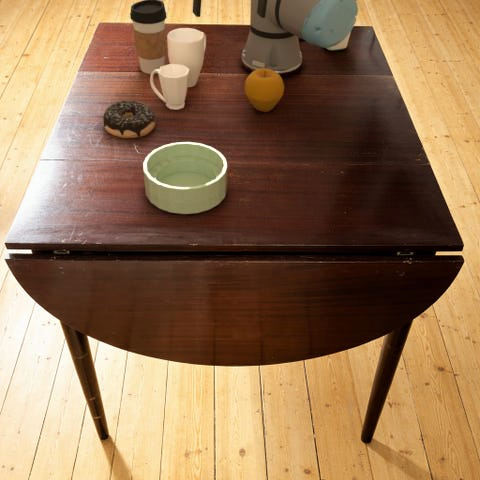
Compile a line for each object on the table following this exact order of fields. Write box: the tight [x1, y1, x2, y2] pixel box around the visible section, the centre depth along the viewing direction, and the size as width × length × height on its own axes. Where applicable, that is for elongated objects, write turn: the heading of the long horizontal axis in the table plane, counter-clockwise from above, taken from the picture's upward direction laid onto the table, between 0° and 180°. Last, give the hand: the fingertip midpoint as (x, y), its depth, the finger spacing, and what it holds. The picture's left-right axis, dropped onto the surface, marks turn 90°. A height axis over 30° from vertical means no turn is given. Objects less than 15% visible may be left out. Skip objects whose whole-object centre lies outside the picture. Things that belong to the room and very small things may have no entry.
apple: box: [244, 68, 285, 113], centre depth 136 cm, size 9×9×9 cm
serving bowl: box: [142, 141, 228, 215], centre depth 115 cm, size 15×15×6 cm
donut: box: [102, 99, 156, 139], centre depth 131 cm, size 11×12×4 cm
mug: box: [166, 27, 207, 88], centre depth 143 cm, size 12×8×11 cm
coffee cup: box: [129, 0, 167, 75], centre depth 146 cm, size 8×8×15 cm
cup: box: [149, 63, 190, 111], centre depth 137 cm, size 7×10×8 cm
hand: (229, 15), depth 121 cm, fingers open, 13 cm apart
